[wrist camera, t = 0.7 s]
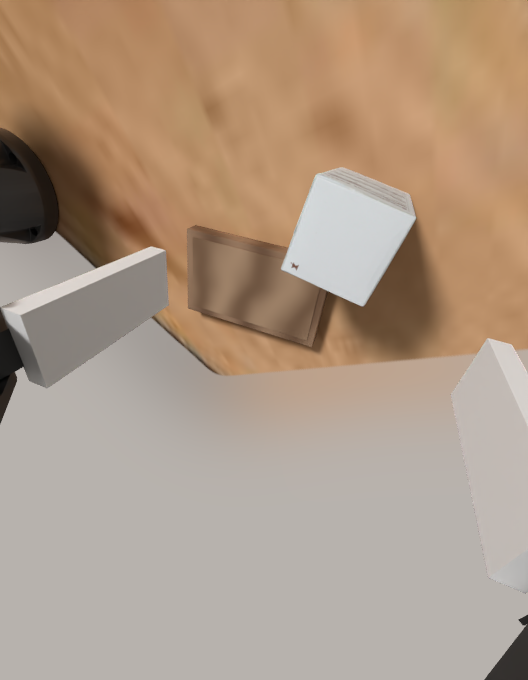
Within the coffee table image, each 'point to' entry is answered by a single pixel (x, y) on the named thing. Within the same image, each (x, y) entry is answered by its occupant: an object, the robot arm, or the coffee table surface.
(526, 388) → the robot arm
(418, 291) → the coffee table surface
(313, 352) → the coffee table surface
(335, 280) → the supplement box
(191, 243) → the walnut board
